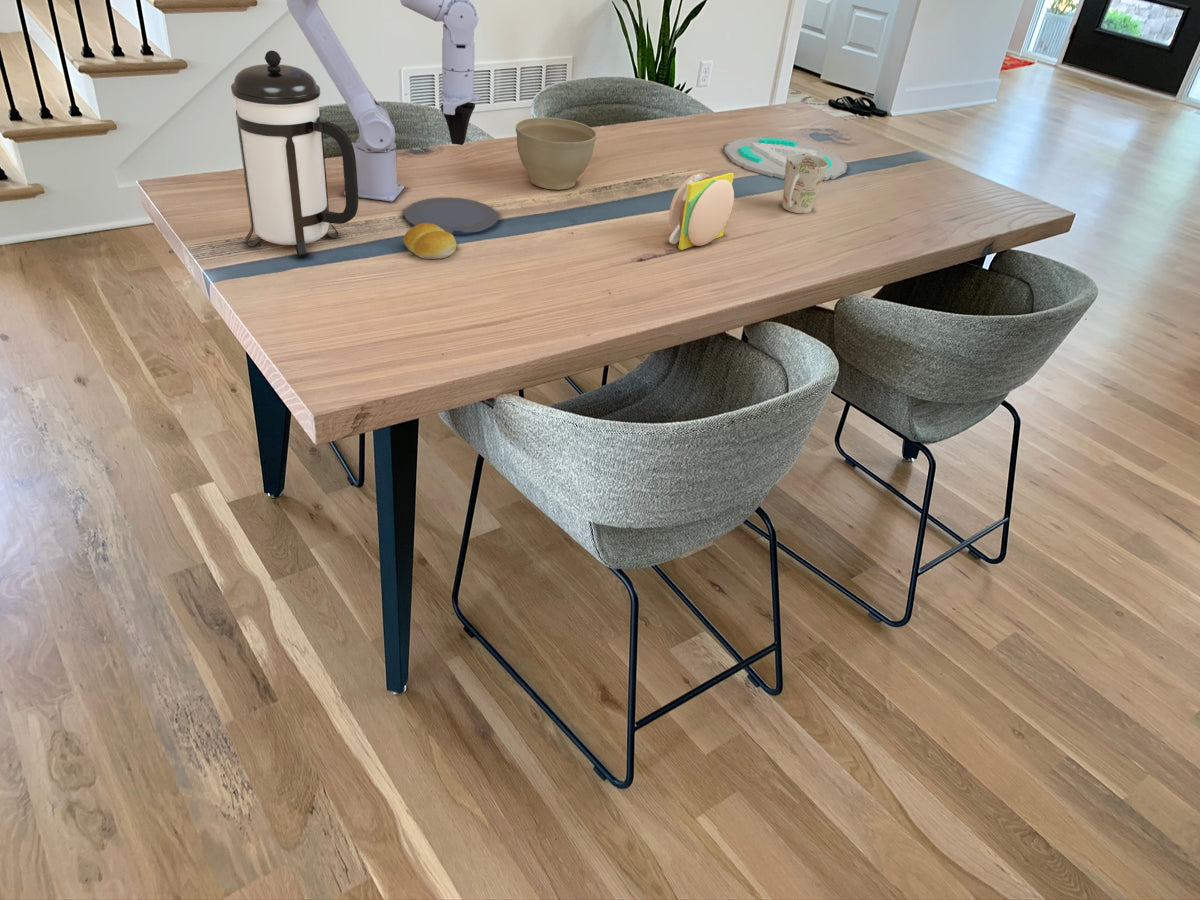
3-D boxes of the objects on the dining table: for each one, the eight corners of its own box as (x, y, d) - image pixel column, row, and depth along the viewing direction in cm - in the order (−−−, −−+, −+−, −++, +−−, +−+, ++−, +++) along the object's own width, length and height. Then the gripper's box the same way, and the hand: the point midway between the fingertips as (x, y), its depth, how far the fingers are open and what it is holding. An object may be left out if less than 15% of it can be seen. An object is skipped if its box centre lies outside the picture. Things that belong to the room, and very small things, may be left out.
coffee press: (251, 266, 142) (223, 65, 124) (241, 226, 153) (213, 38, 136) (362, 257, 148) (350, 65, 131) (344, 219, 160) (331, 39, 142)
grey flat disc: (760, 133, 228) (761, 126, 227) (862, 162, 216) (864, 156, 215) (704, 156, 209) (705, 149, 208) (813, 189, 197) (815, 182, 196)
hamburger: (698, 225, 174) (708, 163, 167) (732, 240, 169) (743, 177, 162) (657, 238, 167) (665, 174, 160) (690, 254, 162) (701, 189, 155)
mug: (820, 207, 189) (832, 159, 183) (805, 225, 179) (817, 176, 173) (782, 197, 191) (793, 150, 185) (766, 215, 182) (776, 166, 176)
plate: (392, 228, 159) (392, 225, 159) (419, 195, 173) (419, 192, 172) (487, 241, 158) (487, 238, 158) (506, 206, 172) (506, 204, 172)
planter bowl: (576, 202, 177) (580, 147, 171) (501, 186, 181) (502, 131, 174) (602, 179, 190) (607, 126, 184) (531, 163, 193) (534, 112, 187)
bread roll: (426, 265, 148) (425, 242, 146) (396, 245, 153) (395, 223, 151) (467, 254, 153) (467, 231, 151) (437, 235, 158) (437, 213, 156)
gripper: (470, 80, 157) (470, 158, 165) (488, 61, 168) (487, 135, 176) (431, 75, 157) (432, 153, 165) (451, 57, 169) (451, 130, 177)
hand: (458, 143), depth 171 cm, fingers closed
